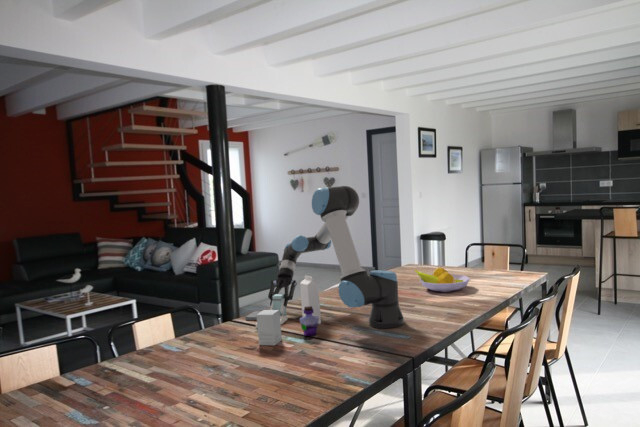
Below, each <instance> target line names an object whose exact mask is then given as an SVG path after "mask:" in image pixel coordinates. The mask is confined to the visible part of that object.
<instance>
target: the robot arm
mask: <svg viewBox="0 0 640 427" xmlns="http://www.w3.org/2000/svg"><path fill="white" fill-rule="evenodd" d="M359 205H360V197H359V194H358V192H357V191H356V189H355V188H353V187H351V186H349V185H348V186H347V185H340V186H328V187H327V186H325V187H318V188H317V189H315V191H314V192H313V194H312V197H311V209H312V212H313V213H314V214H315V215H317V216H320V219H321V221H322V222H324V223H323V225H322V226H321V227H320V229H319V230H318V232H317V233H316V234H315V235H314V236H308V237H306V236H305V235H302V234H301V235H300V234H299V235H297V236H296V237H294V238H293V239H292V241H291V242H290V243H287V244H286V245H285V246H284V249H283V255H282V257H281V263H280V266H279V270H278V274H277V278H276V279H275V280H270V287H269V291H268V295H267V297H268V299H269V301H270V302H269V305H270V309H269V310H274V309H273V297H272V296H274V295H275V294H280V291H281V290H282V289H283V288H284V294H285V297H284V298H285V299H283V301H282V305H281V309H280V311H281V313H284V309H285V307H286V308H287V306H288V303H289V301H292V300H293V298H294V293H295V289H296V287H297V285H298V283H297V281H296V280H293V277H294V273H295V269H296V266H297V265H296V264H297V260H298V258H299V257H300V256H301V255H302V254H306V253H311V252H318V251H325V250H328V249H330V248H331V245H332V244H333V245H332V246H333V249H334V251H335V255H336V258H337V261H338V265H339V268H340V271H341V274H342V275H341V276H340V283H339V284H338V286H337V287H338V296H339V298H340V300H341V301H342V303H343V304H344V305H345V306H347V307H348V308H351V309H353V308H354V309H355V308H362V307H363V306H368V305H371V310H370V314H369V317H368V324H369V326H371V327H372V328H376V329H394V328H399V327H401V326H403V325H404V323H405V318H404V315H403V312H402V310H401V308H400V307H401V306H400V305H399V304H400V303H399V288H398V287H399V286H398V283H399V282H398V277H397V273H396V272H394V271H391V270H376V269H375V270H371V271H369V273H368V271H367V269H364V268H363V267H362V264H361V262H360V258H359V256H358V253H357V250H356V247H355V244H354V241H353V238H352V235H351V232H350V229H349V225H348V222H347V219H348V218H349V217H351V216H353V215H354V214H355V213H356V211H357V210H358V208H359Z"/></svg>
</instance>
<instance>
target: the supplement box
mask: <svg viewBox="0 0 640 427" xmlns="http://www.w3.org/2000/svg"><path fill="white" fill-rule="evenodd" d="M256 317H257V320H256V323H257V327H258V328H257V336H258V345H259V346H277V345H278V344H280V342H281V341H282V340H283V337H282V327H281V325H282V324H280V313H279V310H270V309H263V310H262V311H261V312H260V313H258V314H257V315H256Z"/></svg>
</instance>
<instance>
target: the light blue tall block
mask: <svg viewBox="0 0 640 427" xmlns="http://www.w3.org/2000/svg"><path fill="white" fill-rule="evenodd" d="M272 297H273V309H274V310H279V313H280V315H287V309H286V308H287V306H286V307H285V309H284V313H281V311H280V309H281V305H282V301H283V299H285V298H284V297H285V293H278V294H275V295H274V296H272Z"/></svg>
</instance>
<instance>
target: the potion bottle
mask: <svg viewBox="0 0 640 427" xmlns="http://www.w3.org/2000/svg"><path fill="white" fill-rule="evenodd" d="M312 313H314V312H313V309H312V306H305V307H304V314H306V316H304V317H299V323H300V326H301V329H302V331H303V335H304V337H307V338H308V337H314V336H317V335H318V333H317V331H318V326H319V324H318V320H319V317H318V316H313V315H312Z"/></svg>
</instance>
